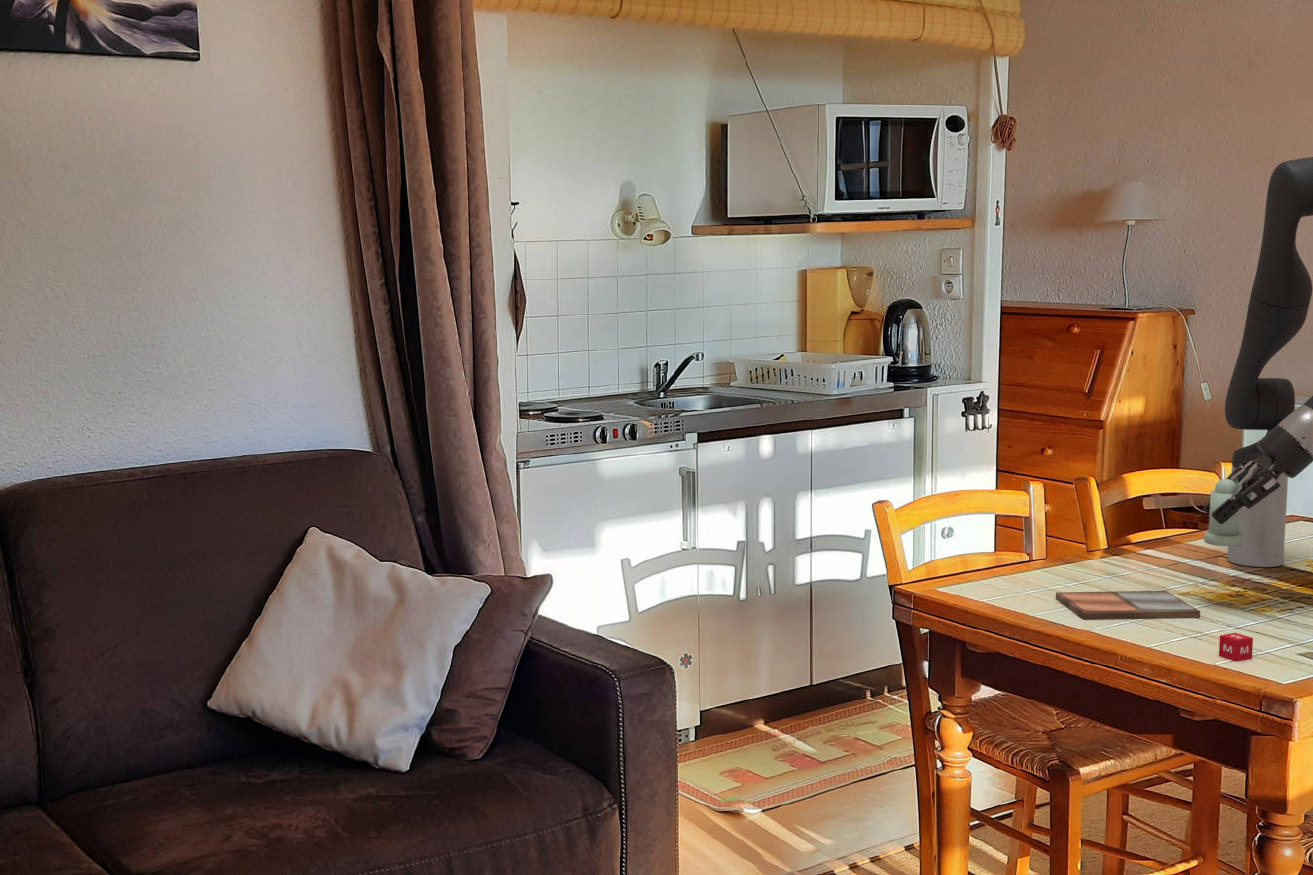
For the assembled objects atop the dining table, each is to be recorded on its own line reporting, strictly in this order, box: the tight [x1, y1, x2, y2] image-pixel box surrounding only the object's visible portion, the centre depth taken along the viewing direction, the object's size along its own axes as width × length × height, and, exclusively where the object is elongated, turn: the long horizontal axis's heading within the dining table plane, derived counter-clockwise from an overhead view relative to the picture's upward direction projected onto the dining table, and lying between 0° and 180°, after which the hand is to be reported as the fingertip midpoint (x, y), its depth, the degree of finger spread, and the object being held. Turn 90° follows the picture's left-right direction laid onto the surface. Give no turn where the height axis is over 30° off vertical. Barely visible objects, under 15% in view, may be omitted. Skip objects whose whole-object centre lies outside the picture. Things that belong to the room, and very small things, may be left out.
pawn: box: [1203, 478, 1243, 547], centre depth 212 cm, size 6×6×10 cm
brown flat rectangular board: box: [1055, 590, 1201, 621], centre depth 213 cm, size 13×18×1 cm
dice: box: [1218, 632, 1254, 662], centre depth 187 cm, size 3×3×3 cm
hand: (1212, 516), depth 212 cm, fingers closed on pawn, 4 cm apart
